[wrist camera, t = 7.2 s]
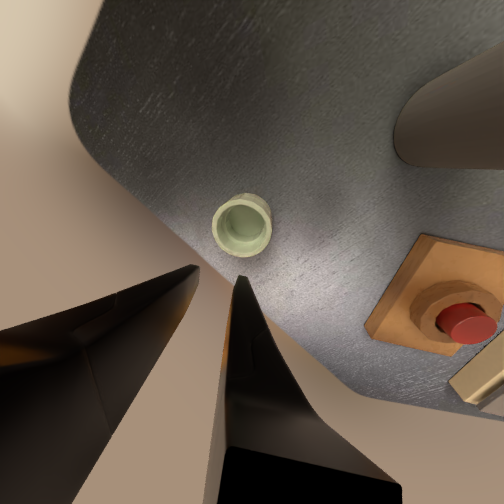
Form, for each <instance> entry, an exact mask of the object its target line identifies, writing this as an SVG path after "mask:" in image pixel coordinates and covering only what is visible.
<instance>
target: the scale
mask: <svg viewBox="0 0 504 504" xmlns="http://www.w3.org/2000/svg"><path fill="white" fill-rule="evenodd" d="M448 382H449V383H450V384H451V386H452V387H453V388H454V389H455V391H456V392H457V393H458V394H459V396H460V397H461V398H462V399H463V401H465V402H469V403H473V404H478V403H479V402H481V401H482V400H483V399H485V398H486V397H487V396H489V395H490V394H491V393H493V392H494V391H495V390H497V389H498V388H499V387H501V386H502V385H503V384H504V330H503V331H502V332H501V333H500V334H499V335H498V336H497V337H496V338H495V339H494V340H493V341H492V342H490V343H489V344H488V345H487V346H486V347H485V348H484V349H483V350H482V351H481V352H480V353H478V354H477V355H476V356H475V357H474V358H473V359H472V360H471V361H470V362H469V363H468V364H466V365H465V366H464V367H463V368H462V369H461V370H460V371H459V372H458V373H457V374H456V375H454V376H453V377H452V378H451V379H450V380H449V381H448Z"/></svg>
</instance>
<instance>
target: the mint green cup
mask: <svg viewBox="0 0 504 504" xmlns="http://www.w3.org/2000/svg"><path fill="white" fill-rule="evenodd" d="M212 232H213V236H214V239H215V241H216V242H217V244H218V245H219V246H220V248H221V249H222V250H224V251H225V252H227V253H229V254H230V255H232V256H237V257H241V258H243V257H251V256H254V255H256V254H258V253H260V252H261V251H263V250H264V248H265V247H266V246H267V244H268V243H269V241H270V237H271V233H272V214H271V209H270V208H269V206H268V204H267V203H266V202H265V200H263V199H262V198H260V197H259V196H257V195H254V194H250V193H243V194H238V195H235V196H234V197H233V198H231V199H230V200H228V201H227V202H226V203H225V204H223V205H222V206H221V207H220V208H219V209H218V210H217V212H216V213H215V215H214V217H213V221H212Z"/></svg>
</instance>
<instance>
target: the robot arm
mask: <svg viewBox="0 0 504 504" xmlns="http://www.w3.org/2000/svg"><path fill="white" fill-rule="evenodd" d="M199 273H200V267H199V266H197V265H192V264H190V265H188V266H185V267H182V268H180V269H177V270H175V271H172V272H169V273H166V274H164V275H161V276H159V277H156V278H154V279H151V280H148V281H145V282H143V283H140V284H137V285H135V286H132V287H130V288H127V289H124V290H122V291H119V292H117V294H116V293H114V294H111V295H108V296H106V297H103V298H100V299H98V300H95V301H92V302H89V303H86V304H83V305H80V306H77V307H74V308H71V309H68V310H65V311H62V312H59V313H56V314H53V315H50V316H46V317H43V318H40V319H37V320H33V321H30V322H27V323H24V324H21V325H17V326H14V327H11V328H8V329H4V330H1V331H0V504H72V502H73V500H74V499H75V497H76V495H77V494H78V492H79V490H80V489H81V487H82V485H83V484H84V482H85V480H86V479H87V477H88V475H89V474H90V472H91V470H92V469H93V467H94V465H95V464H96V462H97V460H98V459H99V457H100V455H101V454H102V452H103V450H104V448H105V447H106V445H107V444H108V442H109V440H110V439H111V437H112V435H113V433H114V432H115V430H116V428H117V427H118V425H119V423H120V422H121V420H122V418H123V417H124V415H125V413H126V412H127V410H128V408H129V407H130V405H131V403H132V402H133V400H134V398H135V397H136V395H137V393H138V392H139V390H140V388H141V387H142V385H143V383H144V382H145V380H146V378H147V377H148V375H149V373H150V372H151V370H152V368H153V367H154V365H155V363H156V362H157V360H158V358H159V357H160V355H161V353H162V352H163V350H164V348H165V347H166V345H167V343H168V342H169V340H170V338H171V337H172V335H173V333H174V332H175V330H176V328H177V327H178V325H179V323H180V322H181V320H182V318H183V317H184V315H185V313H186V311H187V309H188V307H189V304H190V302H191V300H192V298H193V295H194V293H195V291H196V288H197V286H198V283H199V275H200V274H199ZM203 504H402V487H401V485H400V484H399V483H397V482H396V481H395V480H394V479H392V478H391V477H390V476H389V475H388V474H386V473H385V472H384V471H383V470H382V469H380V468H379V467H378V466H377V465H376V464H374V463H373V462H372V461H371V460H369V459H368V458H367V457H366V456H365V455H363V454H362V453H361V452H360V451H359V450H357V449H356V448H355V447H354V446H352V445H351V444H350V443H349V442H348V441H347V440H345V439H344V438H343V437H342V436H340V435H339V434H338V433H337V432H336V431H334V430H333V429H332V428H331V427H329V426H328V425H327V424H326V423H325V422H324V421H323V420H322V419H321V418H320V417H319V416H318V414H317V413H316V412H315V411H314V409H313V408H312V406H311V405H310V403H309V402H308V400H307V399H306V397H305V395H304V393H303V392H302V390H301V388H300V386H299V385H298V383H297V381H296V380H295V378H294V376H293V374H292V373H291V371H290V369H289V367H288V366H287V364H286V362H285V360H284V359H283V357H282V355H281V353H280V351H279V349H278V347H277V345H276V343H275V341H274V339H273V337H272V334H271V332H270V329H269V328H268V325H267V323H266V320H265V318H264V315H263V313H262V311H261V308H260V306H259V303H258V301H257V299H256V296H255V294H254V292H253V289H252V287H251V284H250V282H249V280H248V277H246V276H242V275H239V276H238V278H237V280H236V283H235V286H234V289H233V294H232V299H231V305H230V310H229V316H228V321H227V327H226V334H225V342H224V349H223V357H222V364H221V372H220V380H219V387H218V394H217V402H216V409H215V417H214V424H213V431H212V439H211V446H210V454H209V462H208V469H207V475H206V483H205V490H204V498H203Z"/></svg>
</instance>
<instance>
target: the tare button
mask: <svg viewBox="0 0 504 504" xmlns="http://www.w3.org/2000/svg"><path fill="white" fill-rule="evenodd" d="M436 323H437V325H438V326H439V327H440V328H441V329H442V330H443V331H444V332H445V333H446V334H447V335H448V336H449V337H450V338H451V339H452V340H454V341H455V342H457V343H460V344H475V343H479V342H482V341H484V340H486V339H488V338H490V337H491V336H492V335H493V334H494V333H495V332H496V330H497V323H496V321H495V320H494V319H492V318H491V317H490V316H488V315H487V314H485V313H484V312H483V311H481V310H480V309H478V308H477V307H475V306H474V305H472V304H470V303H465V302H464V303H458V304H453V305H451V306H449V307H447V308H445V309H443V310H442V311H441V312H440V313H439V315H438V316H437V317H436Z"/></svg>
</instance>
